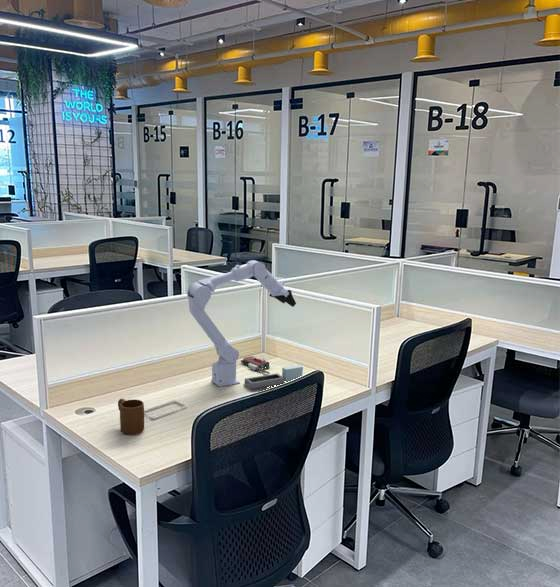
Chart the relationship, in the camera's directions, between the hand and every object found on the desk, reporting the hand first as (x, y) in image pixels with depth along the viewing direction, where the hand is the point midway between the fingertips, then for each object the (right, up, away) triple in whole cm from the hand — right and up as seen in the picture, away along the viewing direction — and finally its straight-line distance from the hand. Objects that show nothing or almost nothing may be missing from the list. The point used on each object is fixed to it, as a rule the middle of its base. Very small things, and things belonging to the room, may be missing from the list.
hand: (289, 303), depth 236 cm
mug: (-54, -40, -52) cm, 85 cm away
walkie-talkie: (-13, -29, +11) cm, 34 cm away
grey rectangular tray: (-10, -33, -10) cm, 36 cm away
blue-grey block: (+1, -32, -3) cm, 32 cm away
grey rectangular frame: (-45, -38, -37) cm, 70 cm away
